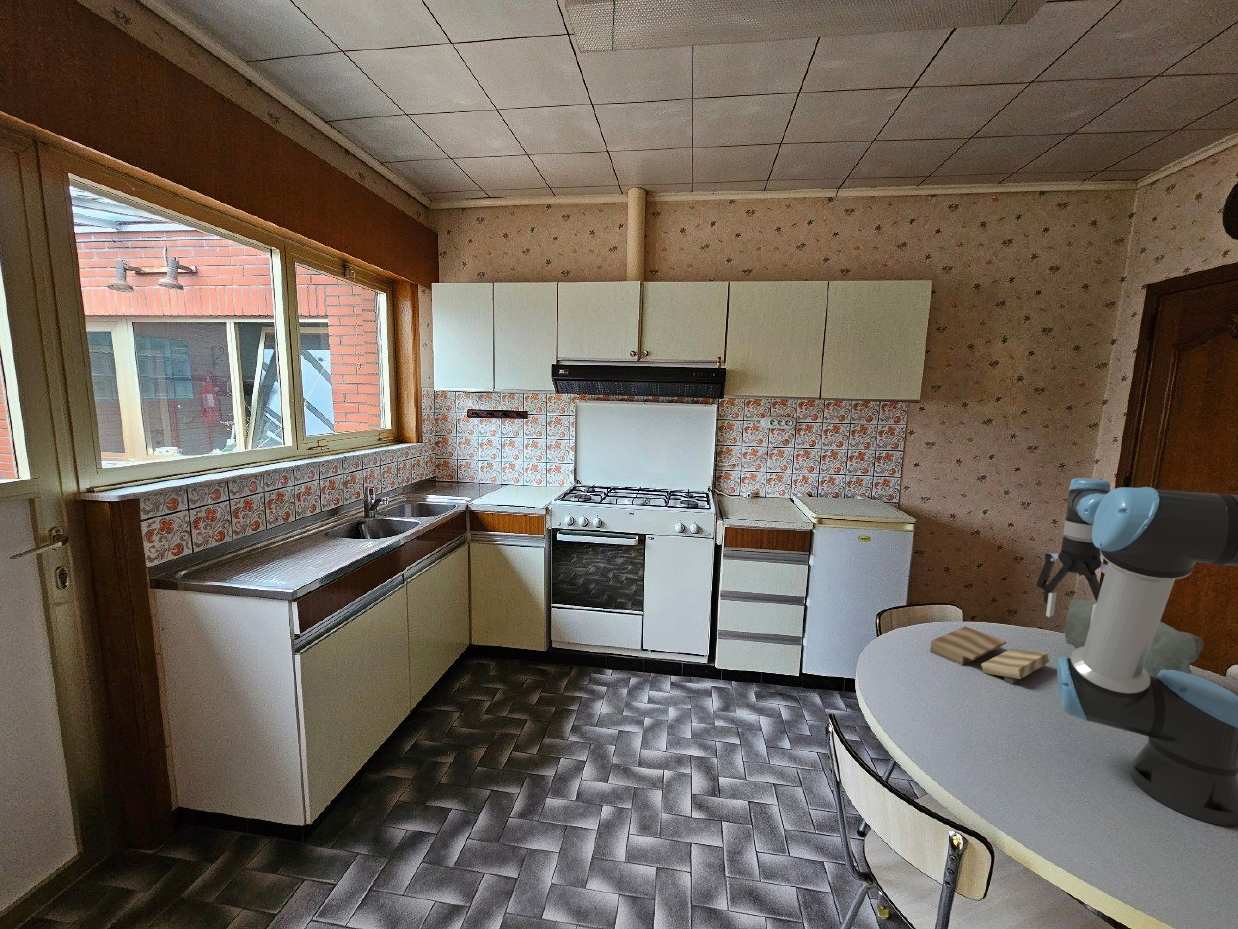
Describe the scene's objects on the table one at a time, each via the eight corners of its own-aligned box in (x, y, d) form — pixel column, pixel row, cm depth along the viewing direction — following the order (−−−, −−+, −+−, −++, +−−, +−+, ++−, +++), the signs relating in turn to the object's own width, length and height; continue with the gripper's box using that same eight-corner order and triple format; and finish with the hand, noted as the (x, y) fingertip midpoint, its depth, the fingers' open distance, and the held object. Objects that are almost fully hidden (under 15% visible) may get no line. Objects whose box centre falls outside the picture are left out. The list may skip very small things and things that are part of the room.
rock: (1194, 690, 134) (1206, 620, 132) (1194, 699, 130) (1207, 626, 128) (1063, 652, 154) (1072, 590, 152) (1060, 659, 150) (1068, 595, 147)
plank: (1019, 688, 135) (1021, 670, 134) (980, 671, 143) (982, 655, 142) (1048, 670, 143) (1050, 654, 143) (1010, 656, 151) (1012, 640, 151)
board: (971, 669, 144) (973, 657, 143) (930, 652, 153) (931, 640, 153) (1005, 652, 153) (1006, 641, 153) (964, 637, 163) (965, 626, 163)
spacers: (1012, 684, 136) (1013, 679, 136) (1003, 681, 138) (1004, 676, 138) (1040, 668, 145) (1041, 663, 145) (1032, 665, 146) (1033, 660, 146)
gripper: (1145, 546, 121) (1131, 635, 124) (1038, 527, 139) (1029, 604, 142) (1134, 551, 117) (1120, 642, 120) (1026, 530, 136) (1016, 610, 138)
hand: (1071, 621), depth 131 cm, fingers open, 8 cm apart
